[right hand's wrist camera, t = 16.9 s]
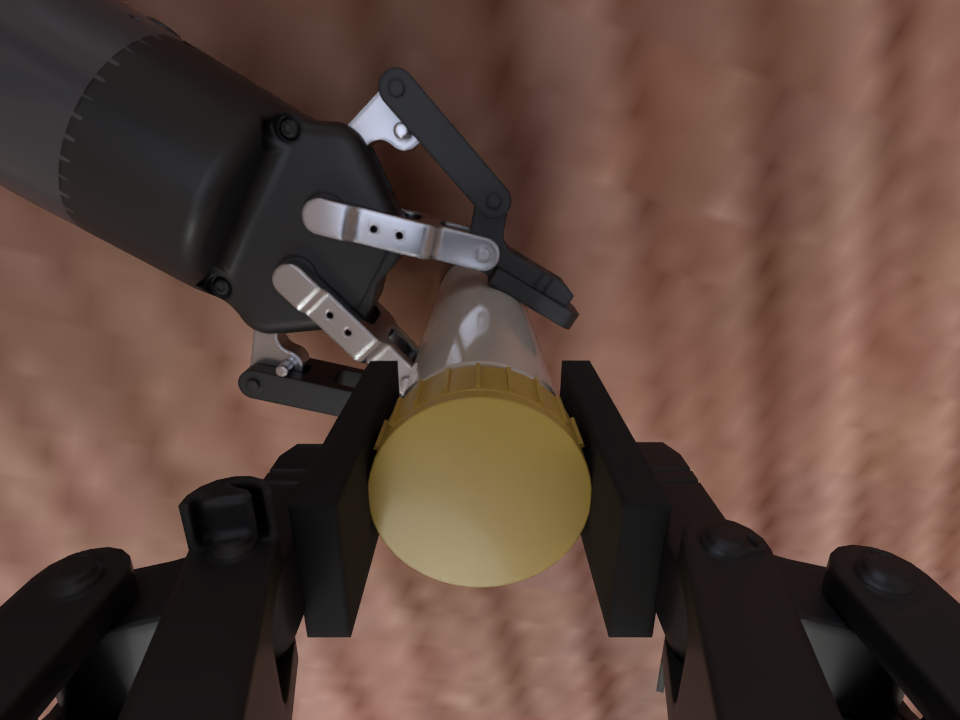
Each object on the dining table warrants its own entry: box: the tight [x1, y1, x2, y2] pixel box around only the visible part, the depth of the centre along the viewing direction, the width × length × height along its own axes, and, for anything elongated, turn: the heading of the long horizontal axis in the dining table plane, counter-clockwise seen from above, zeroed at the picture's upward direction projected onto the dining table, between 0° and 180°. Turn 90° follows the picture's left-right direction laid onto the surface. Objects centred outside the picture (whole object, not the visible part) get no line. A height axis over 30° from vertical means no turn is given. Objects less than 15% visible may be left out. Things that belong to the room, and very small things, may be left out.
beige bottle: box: [402, 265, 556, 399], centre depth 19 cm, size 4×4×17 cm
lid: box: [368, 363, 592, 588], centre depth 11 cm, size 5×5×2 cm
